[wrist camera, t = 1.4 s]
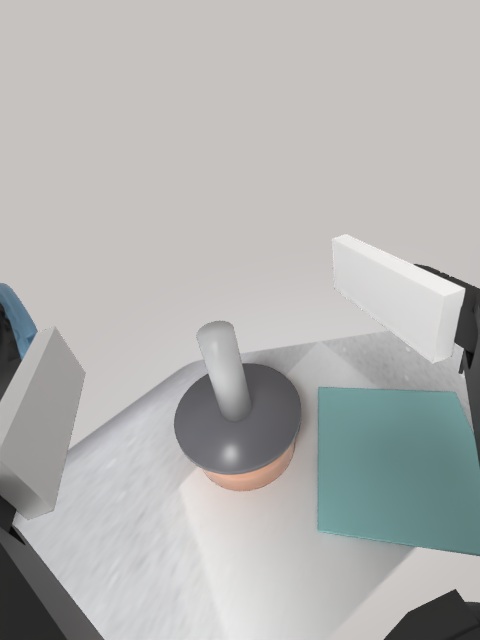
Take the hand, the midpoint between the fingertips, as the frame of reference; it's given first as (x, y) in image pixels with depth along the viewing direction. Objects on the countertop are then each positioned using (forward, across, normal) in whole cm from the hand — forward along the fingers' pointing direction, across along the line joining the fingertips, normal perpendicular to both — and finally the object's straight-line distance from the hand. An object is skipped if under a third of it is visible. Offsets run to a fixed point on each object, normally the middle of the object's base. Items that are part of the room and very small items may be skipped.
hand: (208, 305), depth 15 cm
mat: (+3, +14, -24) cm, 28 cm away
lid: (+10, 0, -18) cm, 21 cm away
